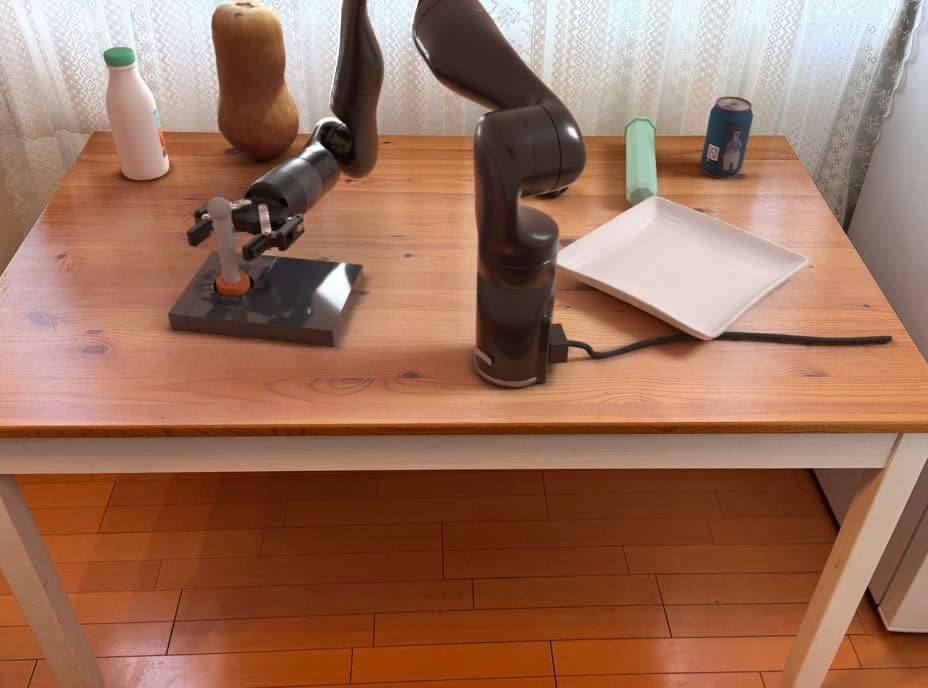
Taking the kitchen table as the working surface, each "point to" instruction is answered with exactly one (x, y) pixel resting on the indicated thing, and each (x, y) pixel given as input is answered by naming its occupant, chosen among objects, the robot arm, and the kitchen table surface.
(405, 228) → the kitchen table surface
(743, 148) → the soda can
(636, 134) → the container
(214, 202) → the stopper
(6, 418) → the kitchen table surface
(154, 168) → the milk bottle
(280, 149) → the butternut squash
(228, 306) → the dark grey slab
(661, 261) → the square plate
